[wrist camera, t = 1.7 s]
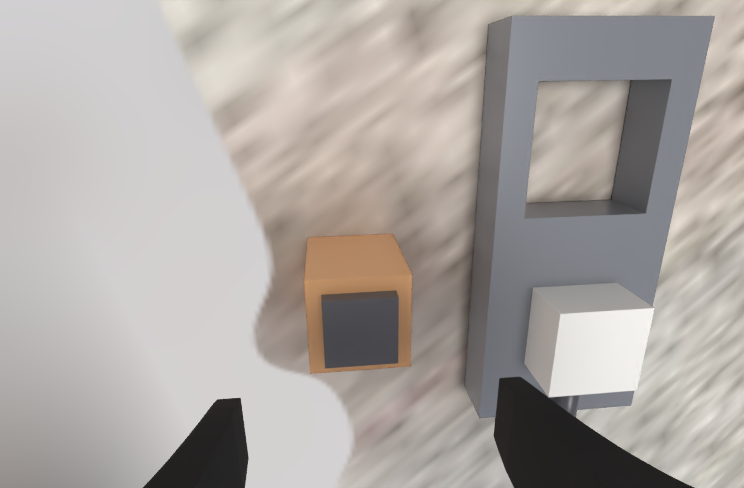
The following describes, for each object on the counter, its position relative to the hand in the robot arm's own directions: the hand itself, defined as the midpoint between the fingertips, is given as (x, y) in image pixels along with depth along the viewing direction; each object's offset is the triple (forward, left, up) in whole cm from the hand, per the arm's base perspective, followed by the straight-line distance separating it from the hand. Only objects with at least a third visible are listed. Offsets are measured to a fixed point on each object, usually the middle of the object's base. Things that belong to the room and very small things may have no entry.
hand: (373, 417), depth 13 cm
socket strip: (+1, -10, -10) cm, 14 cm away
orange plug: (0, 0, -10) cm, 10 cm away
